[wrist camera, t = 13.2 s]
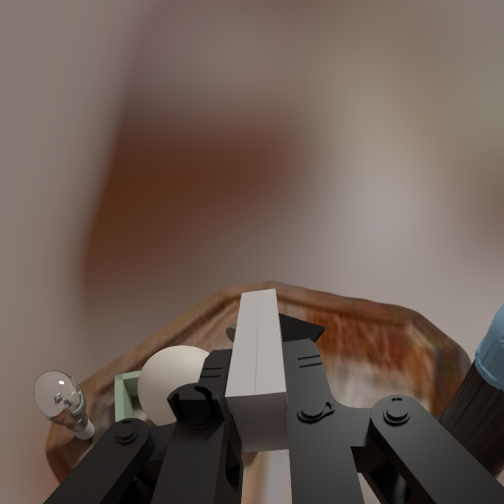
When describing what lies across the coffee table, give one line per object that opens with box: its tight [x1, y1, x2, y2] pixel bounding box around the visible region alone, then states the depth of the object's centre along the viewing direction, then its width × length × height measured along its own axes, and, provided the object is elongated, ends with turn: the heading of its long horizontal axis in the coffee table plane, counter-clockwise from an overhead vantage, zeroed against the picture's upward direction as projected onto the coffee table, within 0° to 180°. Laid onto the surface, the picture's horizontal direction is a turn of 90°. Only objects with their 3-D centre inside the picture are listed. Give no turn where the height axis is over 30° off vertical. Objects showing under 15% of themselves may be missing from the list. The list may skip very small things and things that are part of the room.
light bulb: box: [34, 370, 95, 440], centre depth 23 cm, size 7×7×12 cm
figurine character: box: [226, 313, 325, 343], centre depth 42 cm, size 7×8×15 cm
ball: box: [138, 346, 209, 426], centre depth 29 cm, size 12×12×12 cm
